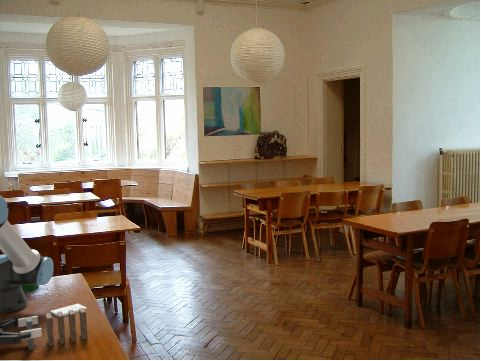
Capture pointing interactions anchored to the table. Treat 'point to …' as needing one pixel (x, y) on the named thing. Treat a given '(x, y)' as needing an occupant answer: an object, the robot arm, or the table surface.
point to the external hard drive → (65, 309)
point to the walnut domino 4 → (83, 323)
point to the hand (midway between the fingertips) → (39, 325)
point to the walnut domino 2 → (61, 327)
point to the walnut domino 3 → (72, 325)
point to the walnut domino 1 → (50, 329)
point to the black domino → (29, 327)
